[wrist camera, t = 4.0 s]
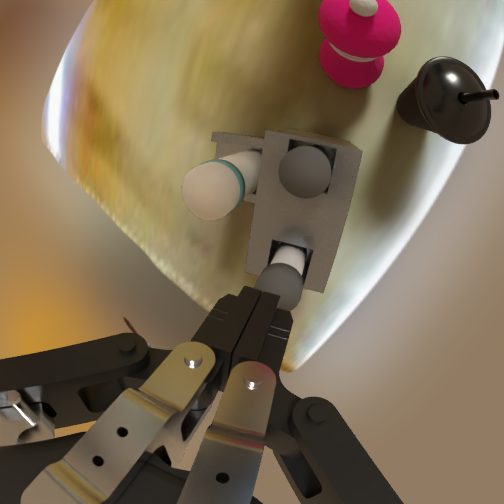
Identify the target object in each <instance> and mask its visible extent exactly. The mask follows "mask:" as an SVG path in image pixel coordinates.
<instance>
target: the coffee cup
mask: <svg viewBox="0 0 504 504" xmlns="http://www.w3.org/2000/svg"><path fill="white" fill-rule="evenodd" d="M261 157H262V151H260V150H256V149H249V150H246V151H242V152H239V153H236V154H232V155H229V156H226V157H223V158H219V159H214V160H210V161H207V162H204V163H202V164H200V165H198V166H196V167H194V168H192V169H191V170H190V171H189V172H188V173H187V174H186V176H185V178H184V180H183V184H182V196H183V200H184V202H185V204H186V206H187V208H188V209H189V210H190V211H191V212H192V213H193V214H194V215H195V216H197V217H199V218H201V219H204V220H208V221H213V220H218V219H221V218H222V217H224V216H225V215H227V214H229V213H231V212H232V211H233V210H234V209H235V208H237V207H238V206H239V205H240V203H241V202H242V201H243V200H244V199H246V198H247V197H248V196H249V195H250V194H252V193H253V192H254V191H255V190H256V189H257V185H258V178H259V171H260V164H261Z"/></svg>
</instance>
